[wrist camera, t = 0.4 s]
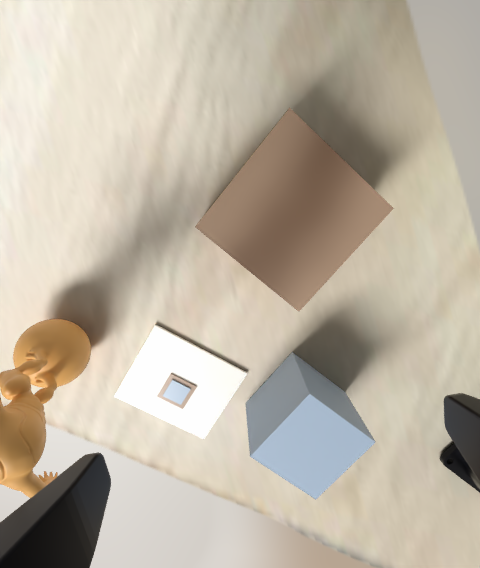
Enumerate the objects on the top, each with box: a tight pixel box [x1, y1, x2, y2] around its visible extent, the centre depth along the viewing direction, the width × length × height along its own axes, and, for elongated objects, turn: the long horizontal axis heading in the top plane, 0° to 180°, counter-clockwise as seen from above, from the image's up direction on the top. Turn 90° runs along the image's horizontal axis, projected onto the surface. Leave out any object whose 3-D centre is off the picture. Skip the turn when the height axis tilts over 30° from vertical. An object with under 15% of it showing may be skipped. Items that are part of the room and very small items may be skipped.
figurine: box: [0, 319, 91, 498], centre depth 15 cm, size 8×6×12 cm
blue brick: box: [246, 352, 375, 499], centre depth 21 cm, size 5×5×5 cm
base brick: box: [195, 108, 393, 311], centre depth 18 cm, size 7×7×4 cm
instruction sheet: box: [114, 324, 247, 439], centre depth 22 cm, size 7×6×1 cm
